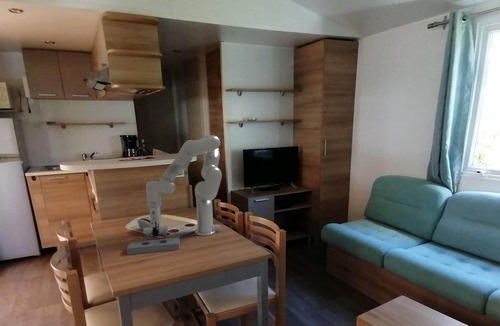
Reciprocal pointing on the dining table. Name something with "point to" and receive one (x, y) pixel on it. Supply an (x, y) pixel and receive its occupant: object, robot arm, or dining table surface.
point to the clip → (160, 229)
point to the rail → (153, 246)
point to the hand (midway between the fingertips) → (156, 234)
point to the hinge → (144, 223)
